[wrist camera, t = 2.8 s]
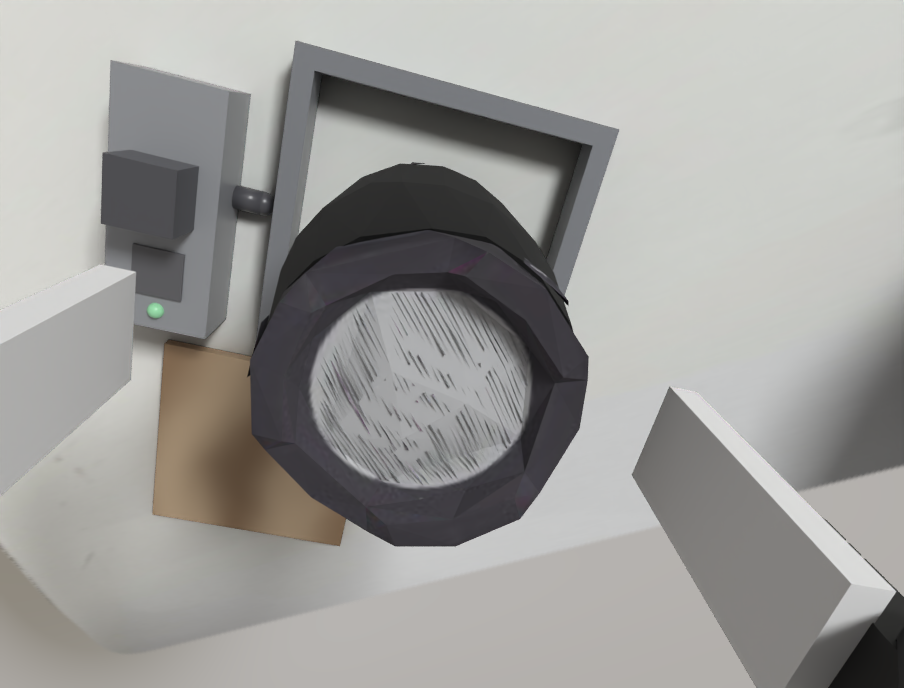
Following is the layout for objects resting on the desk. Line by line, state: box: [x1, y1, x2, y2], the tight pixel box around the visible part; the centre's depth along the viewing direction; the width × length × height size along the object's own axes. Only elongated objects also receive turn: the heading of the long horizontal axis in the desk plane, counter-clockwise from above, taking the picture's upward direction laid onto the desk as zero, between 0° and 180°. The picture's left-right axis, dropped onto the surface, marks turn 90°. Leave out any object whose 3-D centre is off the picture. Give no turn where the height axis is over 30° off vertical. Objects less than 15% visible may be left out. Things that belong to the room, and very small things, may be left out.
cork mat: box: [153, 340, 346, 546], centre depth 35 cm, size 12×12×1 cm
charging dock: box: [232, 41, 619, 340], centre depth 30 cm, size 19×16×2 cm
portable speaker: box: [247, 162, 588, 546], centre depth 22 cm, size 9×9×20 cm
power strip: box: [101, 60, 251, 339], centre depth 27 cm, size 5×12×6 cm, turn 166°
